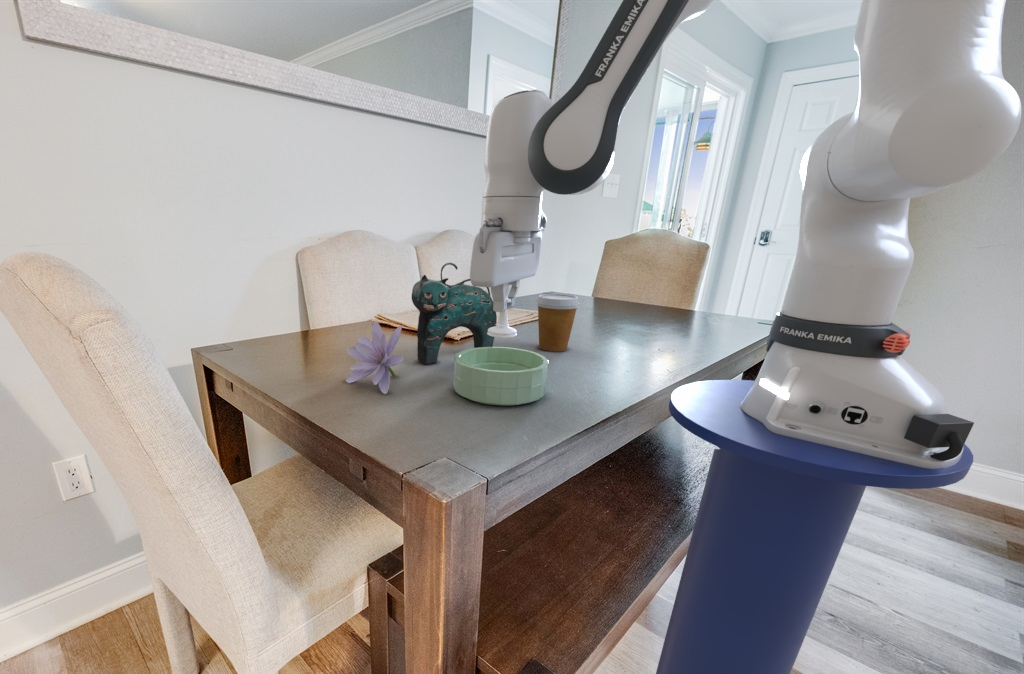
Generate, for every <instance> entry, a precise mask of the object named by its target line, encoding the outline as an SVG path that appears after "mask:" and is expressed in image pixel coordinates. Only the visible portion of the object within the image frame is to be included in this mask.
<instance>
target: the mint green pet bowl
mask: <svg viewBox="0 0 1024 674" xmlns="http://www.w3.org/2000/svg"><path fill="white" fill-rule="evenodd" d="M453 359H454V361H453V388H454V391H455V393H457V394H458V395H459V396H461V397H463V398H466V399H468V400H470V401H473V402H476V403H480V404H484V405H491V406H500V407H501V406H506V407H507V406H519V405H525V404H530V403H532V402H535V401H538V400H541V398H543V397H544V396H545V394H546V388H547V387H546V386H547V380H548V379H547V378H548V377H547V376H548V369H549V359H548V358H547V357H546V356H545V355H542V354H540V353H538V352H536V351H533V350H527V349H523V348H516V347H507V346H493V347H479V348H474V347H472V348H466V349H463V350H460V351H459V352H457V353H456V354H455V356H454V358H453Z"/></svg>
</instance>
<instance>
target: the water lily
mask: <svg viewBox="0 0 1024 674" xmlns="http://www.w3.org/2000/svg"><path fill="white" fill-rule="evenodd" d="M402 328H403V325H399V326H397V328H395V330H394V331H392V333H391V335H390V337H389V339H388V342H387V338H386V334H385V333H383V330H382V327H381V325H380V323H379V322H378V321H377V320H374V321H373V324H372V326H371V339H370V338H368V337H366V336H359V337H358V338H357V343H355V345H354V346H351V347H348V348H347V349H346V351H347V353H348V355H349V356H350V357H352V358H353V359H355V360H357V361H361V362H358V363H355V364H353V365H351V367H349V369H350V370H352V372H350V373H349V375H348V376H347V378H346V379H345V382H346V383H347V384H352V383H355V382H358V381H361V380H363V379H365V378H366V377H368V376H371V374H373V373H374V372H375V373H374V375H373V377H372V383H373V385H374V386H377V385H378V388H379V390H380V391H381V393H383V394H384V395H386V394H387V393H388V391H389V388H390V384H391V376H392V378H396V377H397V374H396V373H395V371H394V370H393V368H392V367H394V366H397V365H398V364H400V363H402V362H403V361H404V357H403V356H402V355H401V354H394V355H392V353H393V351H394V350H395V348H396V346H397V344H398V342H399V339H400V337H401V333H402V330H403V329H402ZM391 355H392V356H391Z"/></svg>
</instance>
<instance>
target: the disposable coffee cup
mask: <svg viewBox="0 0 1024 674" xmlns="http://www.w3.org/2000/svg"><path fill="white" fill-rule="evenodd" d="M535 302H536V306H537V321H538V348H539V349H541V350H543V351H546V352H564V351H567V349H568V345H569V341H570V337H571V334H572V330H573V325H574V321H575V319H576V318H575V317H576V314H577V310H578V308H579V306H580V303H581V302H579V297H578V296H577V295H573V294H565V293H564V294H563V293H542V294H539V295H538V298H537V300H536V301H535Z"/></svg>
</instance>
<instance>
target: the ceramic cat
mask: <svg viewBox="0 0 1024 674" xmlns="http://www.w3.org/2000/svg"><path fill="white" fill-rule="evenodd" d="M448 265H450V266H453V267H454V268H455V270H458V269H459V268H458V265H456V264H455V263H453V262H446V263H445V264H443V265H442V266H441V269H440V280H434V279H430V278H428V277H427V275H426V274H423V276H422V277H421V279H420V280H418V281H416V282H415V283H414V284H413V286H412V290H411V301H412V304H413V306H414V307H415V308H416V309H417V310H418V312H419V315H418V320H417V321H418V322H417V330H416V335H417V349H416V350H417V351H416V353H417V361H418V362H419V363H421V364H422V365H426V366H428V365H434V364H437V363H438V358H439V357H438V356H439V353H440V348H441V345H442V343H443V342H444V340H445V338H446V336H447V335H448V333H449V332H451V331H452V330H455V329H458V328H460V327H461V328H465V329H468V330H469V331H470V332H471V334H472V340H473V348H479V347H494V341H495V337H493V336H489V335H488V334H487V332H488V329H489V328H491V327H494V326H497V325H496V324H497V323H498V315H497V312H495V311H494V310H493V301H494V300H493V297H492V295H491V289H490V287H485V288H486V290H484V288H483V287H478V286H473V285H472V284H465V283H466V282H471V280H470V278H467V279H463V280H462V281H459V282H457V283H455V284H452V285H451V284H447V283H446V282H447V281H448V280H449V277H445V278H443V270H444V268H445V267H446V266H448Z"/></svg>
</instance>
